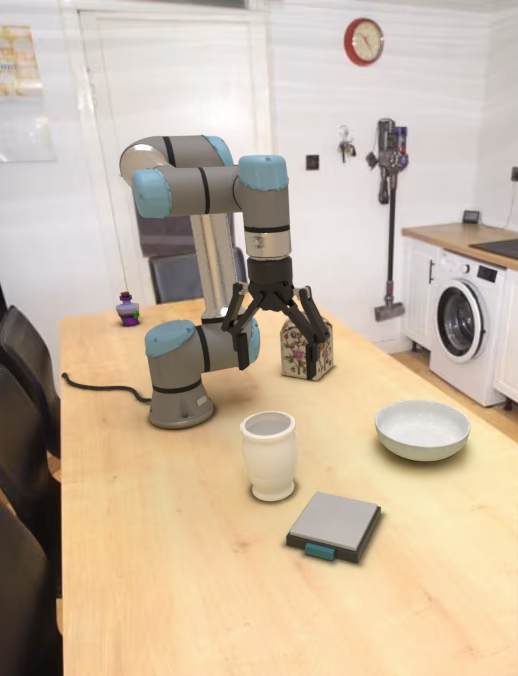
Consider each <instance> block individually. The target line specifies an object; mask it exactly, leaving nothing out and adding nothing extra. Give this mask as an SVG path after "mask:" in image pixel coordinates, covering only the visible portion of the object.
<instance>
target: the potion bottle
mask: <svg viewBox="0 0 518 676" xmlns="http://www.w3.org/2000/svg"><path fill="white" fill-rule="evenodd" d="M132 300H133V295H132V294H130V291H122V292H120V295H119V301H120V302H122V303H120V304H118V305H115V310H116V313H117V315H118V317H119V318H120V320H121V322H122V326H123V327H127V328H128V327H136V326H137V325H139V317H140V315H141V314H140V303H137V302H131V301H132Z"/></svg>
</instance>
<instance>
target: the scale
mask: <svg viewBox="0 0 518 676" xmlns="http://www.w3.org/2000/svg"><path fill="white" fill-rule="evenodd" d="M378 505H379V504H378V503H373V502H369V501H364V500H360V499H355V498H351V497H346V496H342V495H337V494H332V493H330V492H329V493H328V492H323V491H318V490H317V491H316V492H315V494H314V495H313V496H312V498H311V499H310V501H309V502H308V504H306V506H305V508H304V509H303V510H302V513H301V514H300V516H298V518H297V520H296V521H295V523H293V525H292V527H291V528H290V529H289V531H288V533H287V534H286V535H285V540H286V546H289V547H293V548H297V549H301V550H304V553H305V555H310V556H313V557H317V558H321V559H323V560H324V559H325V560H328V561H332V562H333V561H334V559H338V560H339V559H340V560H342V561H346V562H351V563H354V564H358V563H359V562H360V560H361V557H362V555H363V554H364V551H365V549H366V547H367V545H368V543H369V541H370V539H371V536H372V535H373V532H374V530H375V528H376V526H377V525H378V522H379V520H380V518H381V515H382V506H378Z"/></svg>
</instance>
